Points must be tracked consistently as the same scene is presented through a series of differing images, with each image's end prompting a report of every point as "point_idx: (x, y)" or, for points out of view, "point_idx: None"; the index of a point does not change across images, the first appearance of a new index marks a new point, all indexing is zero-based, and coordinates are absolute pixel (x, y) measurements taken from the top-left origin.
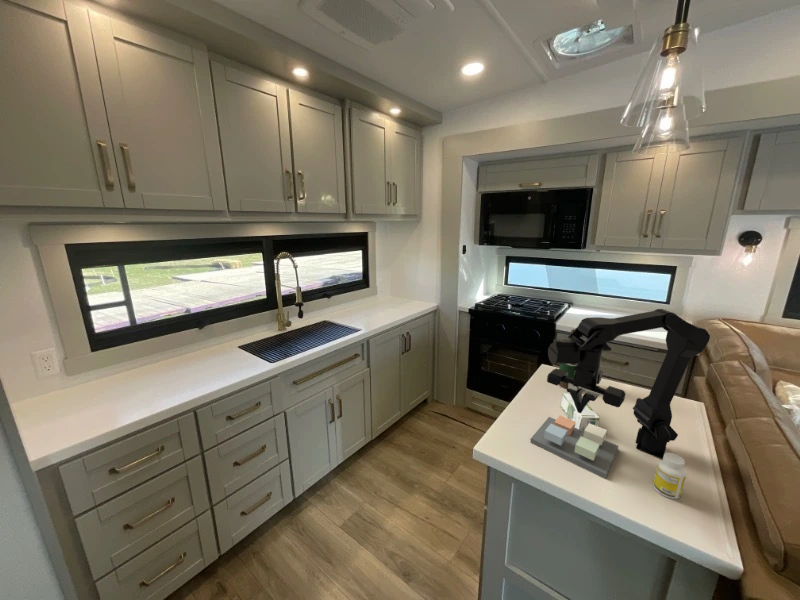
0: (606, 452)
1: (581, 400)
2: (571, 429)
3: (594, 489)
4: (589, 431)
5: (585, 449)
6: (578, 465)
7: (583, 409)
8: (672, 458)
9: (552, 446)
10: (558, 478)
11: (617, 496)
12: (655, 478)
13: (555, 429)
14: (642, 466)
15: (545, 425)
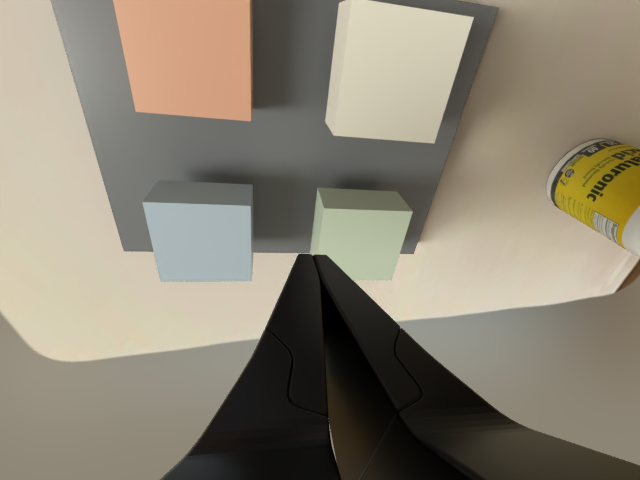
0: None
1: (321, 343)
2: (251, 93)
3: (376, 295)
4: (362, 127)
5: (354, 279)
6: None
7: (342, 276)
8: None
9: None
10: None
11: (430, 281)
12: (573, 200)
13: (194, 238)
14: (555, 79)
15: (98, 93)
